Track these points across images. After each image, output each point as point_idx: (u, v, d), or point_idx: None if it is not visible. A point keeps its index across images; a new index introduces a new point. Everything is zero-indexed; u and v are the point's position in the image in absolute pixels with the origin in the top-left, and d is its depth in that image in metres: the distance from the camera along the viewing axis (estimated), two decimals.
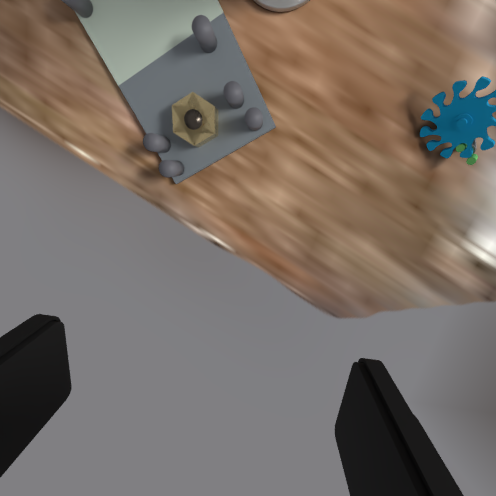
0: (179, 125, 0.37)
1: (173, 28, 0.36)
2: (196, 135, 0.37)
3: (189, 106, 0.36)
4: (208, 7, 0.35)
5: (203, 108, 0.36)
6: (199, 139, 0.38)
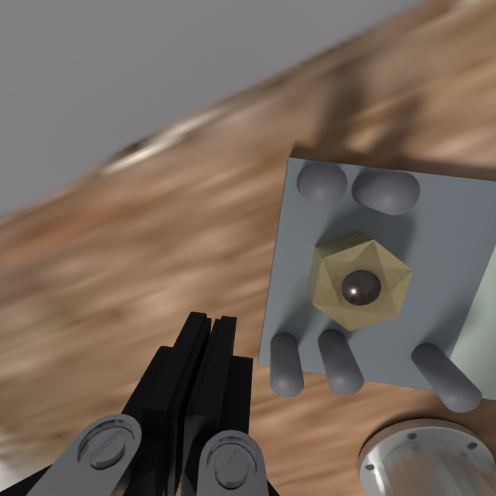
0: (374, 258, 0.17)
1: (487, 326, 0.21)
2: (335, 274, 0.18)
3: (384, 296, 0.18)
4: None
5: (361, 314, 0.19)
6: (323, 274, 0.18)
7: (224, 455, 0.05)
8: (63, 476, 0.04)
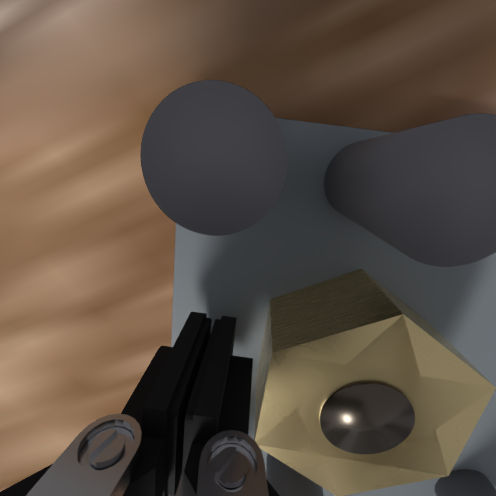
0: (402, 358, 0.07)
1: None
2: (305, 388, 0.07)
3: (419, 437, 0.08)
4: None
5: (365, 468, 0.08)
6: (278, 387, 0.07)
7: (224, 455, 0.05)
8: (63, 476, 0.04)
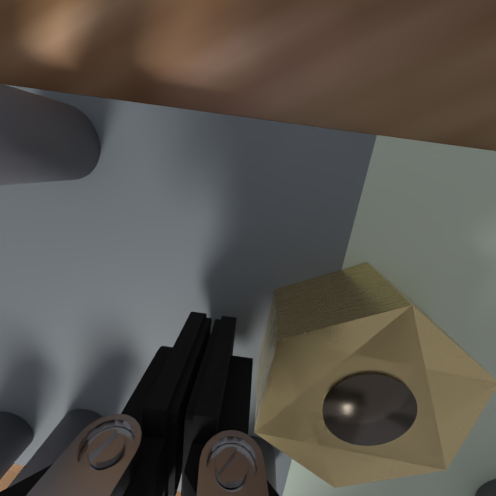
0: (408, 349, 0.07)
1: None
2: (309, 377, 0.07)
3: (420, 430, 0.08)
4: (312, 493, 0.13)
5: (364, 459, 0.08)
6: (282, 375, 0.07)
7: (224, 455, 0.05)
8: (63, 476, 0.04)
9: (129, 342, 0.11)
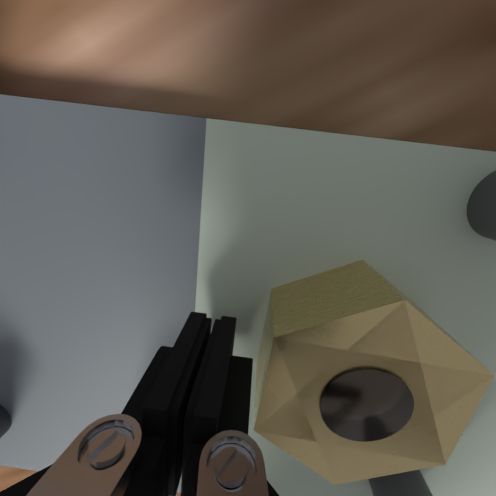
0: (403, 344, 0.07)
1: None
2: (305, 374, 0.07)
3: (417, 424, 0.08)
4: None
5: (363, 455, 0.08)
6: (278, 373, 0.07)
7: (224, 455, 0.05)
8: (63, 476, 0.04)
9: (12, 329, 0.11)
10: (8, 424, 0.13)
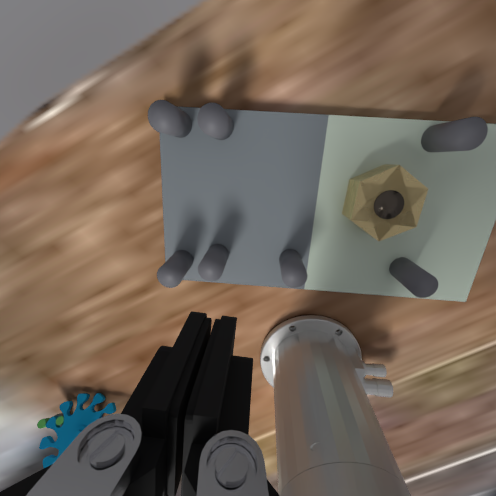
0: (399, 180, 0.23)
1: (330, 231, 0.28)
2: (369, 194, 0.23)
3: (406, 210, 0.24)
4: (318, 278, 0.30)
5: (388, 226, 0.24)
6: (360, 195, 0.24)
7: (224, 455, 0.05)
8: (63, 476, 0.04)
9: (239, 207, 0.27)
10: (228, 256, 0.29)
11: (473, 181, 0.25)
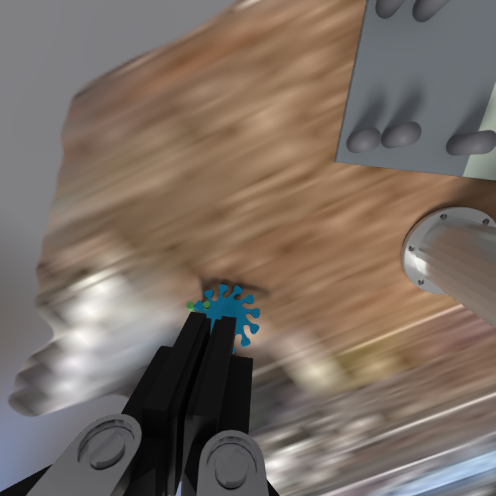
0: None
1: None
2: None
3: None
4: (478, 165, 0.33)
5: None
6: None
7: (224, 455, 0.05)
8: (63, 476, 0.04)
9: (421, 90, 0.31)
10: None
11: None
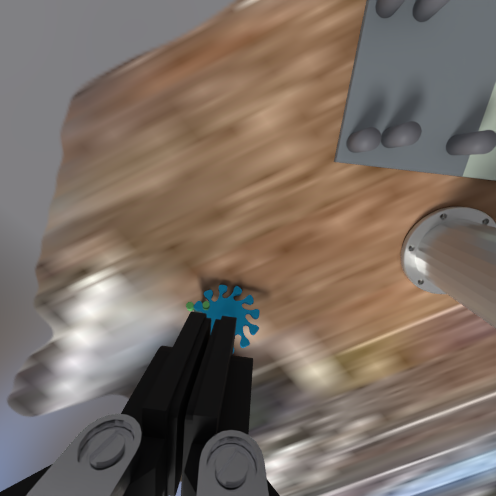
0: None
1: None
2: None
3: None
4: (478, 165, 0.33)
5: None
6: None
7: (224, 455, 0.05)
8: (63, 476, 0.04)
9: (421, 90, 0.31)
10: None
11: None
